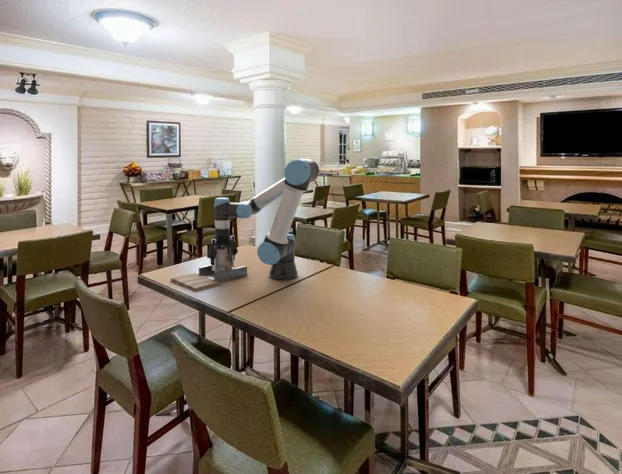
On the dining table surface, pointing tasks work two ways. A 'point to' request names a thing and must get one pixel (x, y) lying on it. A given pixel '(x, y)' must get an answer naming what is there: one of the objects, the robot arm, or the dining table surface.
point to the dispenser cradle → (223, 273)
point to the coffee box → (223, 259)
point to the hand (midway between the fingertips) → (223, 268)
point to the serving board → (195, 281)
